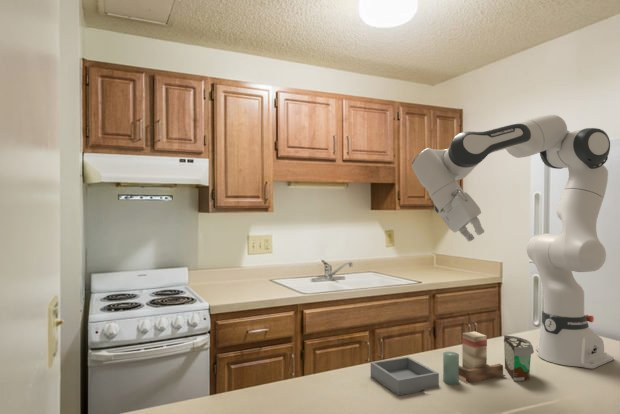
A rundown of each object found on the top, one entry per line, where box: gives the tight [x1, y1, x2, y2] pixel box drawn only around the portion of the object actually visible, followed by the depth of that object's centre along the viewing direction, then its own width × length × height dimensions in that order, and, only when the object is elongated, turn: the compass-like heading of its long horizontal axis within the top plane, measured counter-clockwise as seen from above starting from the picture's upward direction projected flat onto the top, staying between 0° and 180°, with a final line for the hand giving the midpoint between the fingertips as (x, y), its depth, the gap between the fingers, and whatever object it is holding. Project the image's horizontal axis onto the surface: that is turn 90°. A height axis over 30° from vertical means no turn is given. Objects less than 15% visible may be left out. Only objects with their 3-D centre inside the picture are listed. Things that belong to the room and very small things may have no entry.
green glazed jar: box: [442, 351, 460, 386], centre depth 115 cm, size 4×4×8 cm
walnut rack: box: [459, 363, 507, 384], centre depth 120 cm, size 14×9×4 cm, turn 112°
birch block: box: [461, 330, 488, 370], centre depth 120 cm, size 5×5×11 cm
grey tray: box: [370, 356, 440, 397], centre depth 116 cm, size 13×14×4 cm
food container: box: [503, 335, 535, 383], centre depth 119 cm, size 12×6×10 cm, turn 168°
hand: (476, 237), depth 123 cm, fingers open, 8 cm apart
